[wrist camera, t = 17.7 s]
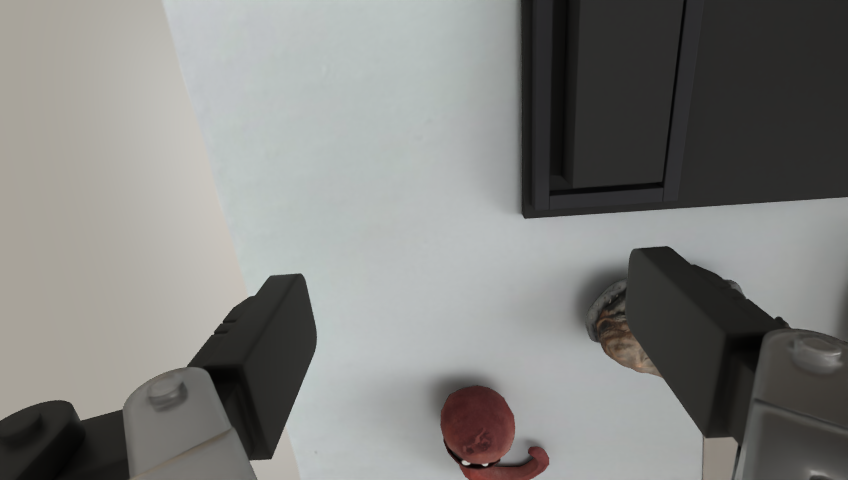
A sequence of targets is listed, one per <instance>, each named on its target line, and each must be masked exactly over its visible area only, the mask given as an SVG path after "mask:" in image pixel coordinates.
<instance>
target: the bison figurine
mask: <svg viewBox="0 0 848 480" xmlns="http://www.w3.org/2000/svg"><path fill="white" fill-rule="evenodd" d="M725 281H726V282H727V283H729V284H730V285H731V286H732V289H736V290H738V291H739V292H740V293H741V294H743V292H742V290H741V288H740V286H739V285H738V284H737V283H736V282H734V281H732V280H725ZM626 289H627V279H624V280H621V281H618V282H616V283H614V284H612V285H611V286H610V287H608V288H607V289H606V290H605V291H604V292H603V293H602V294H601V295H600V296H599V298H598V299H597V300H596V301H595V302H594V304H593V305H592V306H591V307H590V309H589V310H588V313H587V318H586V328H587V332H588V335H589V337H590V339H591V340H592V341H594V342H598V343H601V346H602V348H603V350H604V352H605V353H606V354H607V355H608V356H609V357H610V358H612V359H613V360H615V361H617V362H618V363H619V364H621V365H623V366H625V367H628V368H631V369H633V370H635V371H637V372H640V373H650V374H653V375H657V376H659V377H662V376H661V374H660V373H659V371H658V370H657V368H656V367H655V366H654V364H653V363H652V361H651V360H650V359H649V357H648V356H647V354H646V353H645V351H644V350H643V349H642V347H641V346H640V344H639V343H638V341H637V340H636V339H635V337H634V336H633V334H632V333H631V331H630V329H629V327H628V324H627V321H626V316H625V299H626ZM743 295H744V294H743ZM745 299H746V297H745ZM775 320H776V321H777V322H778V323H780V324H781V325H782V326H784V327H785V328H786V329H792V328H790V327H789V325H788V323H787V322H785V321H784V320H783V319H782V318H781V317H776V318H775ZM662 378H663V377H662Z"/></svg>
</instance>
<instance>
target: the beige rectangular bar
mask: <svg viewBox="0 0 848 480" xmlns="http://www.w3.org/2000/svg"><path fill="white" fill-rule="evenodd" d="M737 446H738V443H737V442H736V440H735V439H734V438H733V437H727V438H707V439H706V438H705V437H704V449H703V480H731V474H732V469H733V464H734V458H735V454H736V450H737Z"/></svg>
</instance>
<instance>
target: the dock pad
mask: <svg viewBox="0 0 848 480" xmlns="http://www.w3.org/2000/svg"><path fill="white" fill-rule="evenodd" d="M521 16H522V214H523V216H524V218H525V219H527V218H542V217H557V216H572V215H587V214H602V213H616V212H631V211H646V210H661V209H676V208H691V207H706V206H721V205H736V204H751V203H766V202H780V201H795V200H810V199H825V198H840V197H848V0H684V1H683V9H682V18H681V26H680V35H679V43H678V52H677V60H676V68H675V77H674V85H673V94H672V102H671V111H670V119H669V127H668V136H667V144H666V153H665V161H664V170H663V178H662V182H651V183H637V184H623V185H610V186H596V187H582V188H572V187H571V186H570V185H569V184H568V183H567V182H566V181H565V179H564V178H563V177H562V176H561V170H562V136H563V102H564V68H565V34H566V0H521Z"/></svg>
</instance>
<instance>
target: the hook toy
mask: <svg viewBox="0 0 848 480" xmlns="http://www.w3.org/2000/svg"><path fill="white" fill-rule="evenodd" d="M440 425H441V430H442V434H443V436H444V444H445V446H446V449H447V451H448V453H449V454H450V455H451V457H452V458H453V459H454V460H455V461H456V462H457V463H458V464H459V466H460V469H461V470H462V472H463V474H464V475H465V477H466V478H468V479H469V480H530V479H532V478H534V477H536V476H537V475H539V474H540V473H542V472H543V471H545V469H546V468H547V466H548V465H549V457H548V455H547V453H546V452H545V451H544V450H543V449H542V448H540V447H530V448H529V449H528V453H529V454H530V455H531V456H533V457H534V458H533V459H532V460H531V461H530V462H528V463H527V464H525V465H522V466H520V467H493V466H494V465H496V464H497V463H498V462H500V458H501V457H502V456H504V455H505V454H506V453H507V452H508V451H509V450H510V447H511V445H512V442H513V440H514V434H515V422H514V415H513V413H512V412H511V410H510V408H509V406H508V405H507V403H506V401H505V399H504V398H503V397H502V396H501V395H500V394H499V393H497V392H496V391H494V390H492V389H490V388H488V387H483V386H478V385H477V386H471V387H466V388H462V389H460V390H458V391H456V392H454V393H452V394H450V395H449V397H448V399H447V400H446V402H445V404H444V407H443V409H442V411H441V424H440Z"/></svg>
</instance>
